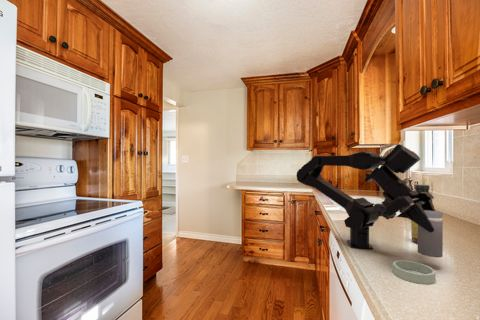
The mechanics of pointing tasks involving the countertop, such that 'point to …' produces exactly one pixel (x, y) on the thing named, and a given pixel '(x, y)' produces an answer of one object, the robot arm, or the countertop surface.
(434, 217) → the grey upright cylinder
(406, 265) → the collar ring
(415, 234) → the sauce bottle
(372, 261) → the countertop surface
